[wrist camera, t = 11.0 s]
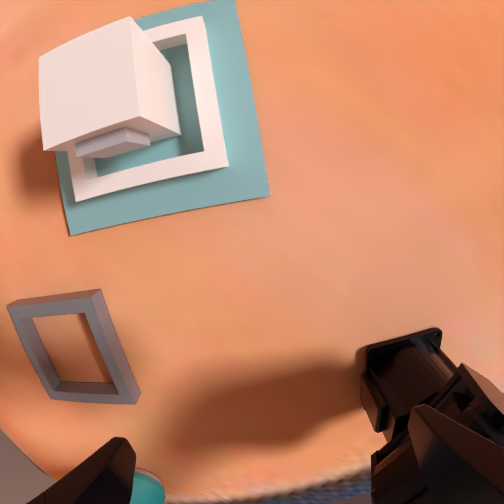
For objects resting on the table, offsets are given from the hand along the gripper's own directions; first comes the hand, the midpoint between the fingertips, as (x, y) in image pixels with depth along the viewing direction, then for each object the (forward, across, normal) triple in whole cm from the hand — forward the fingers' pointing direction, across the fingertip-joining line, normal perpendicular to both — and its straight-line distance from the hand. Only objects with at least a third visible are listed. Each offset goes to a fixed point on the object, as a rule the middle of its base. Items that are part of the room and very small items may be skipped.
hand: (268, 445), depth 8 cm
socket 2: (+12, +5, -12) cm, 18 cm away
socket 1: (+12, +15, +3) cm, 19 cm away
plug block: (+11, +5, -12) cm, 17 cm away
